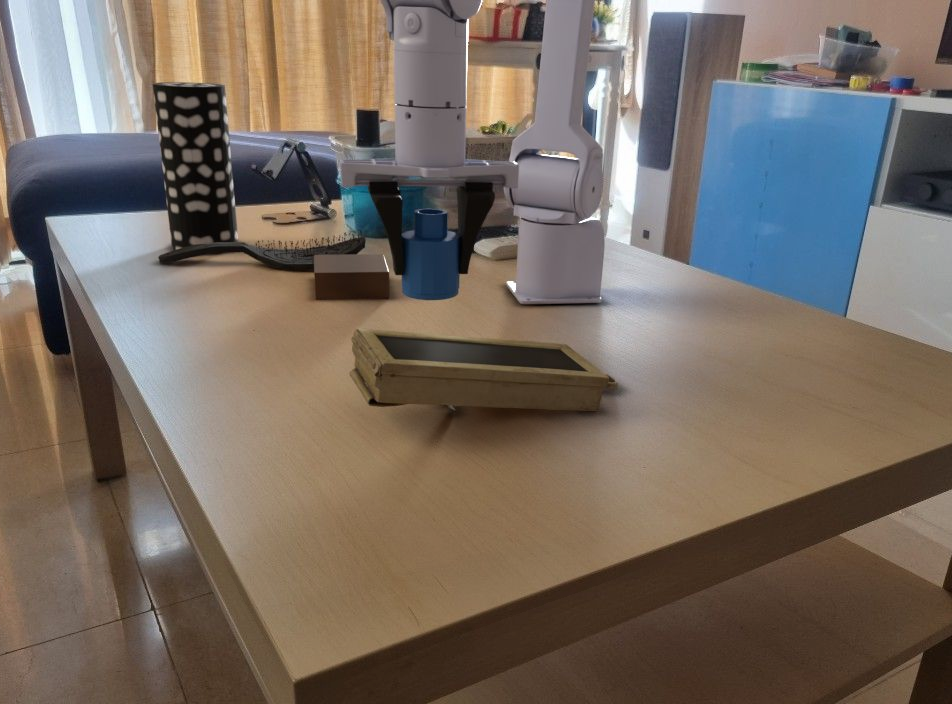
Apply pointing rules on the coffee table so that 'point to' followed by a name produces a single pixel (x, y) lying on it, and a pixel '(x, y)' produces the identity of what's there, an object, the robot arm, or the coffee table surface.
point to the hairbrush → (272, 252)
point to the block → (351, 276)
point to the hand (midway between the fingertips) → (430, 271)
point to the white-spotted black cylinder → (196, 162)
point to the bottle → (430, 257)
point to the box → (473, 372)
